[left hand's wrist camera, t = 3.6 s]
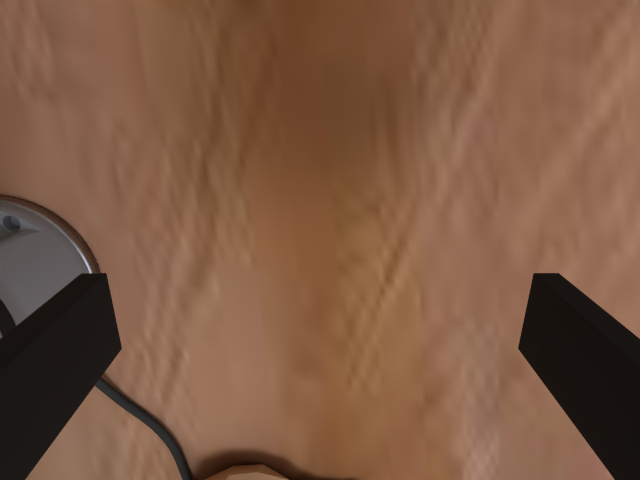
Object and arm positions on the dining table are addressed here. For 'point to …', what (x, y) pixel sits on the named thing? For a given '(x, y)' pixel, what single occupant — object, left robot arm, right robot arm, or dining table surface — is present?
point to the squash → (248, 473)
